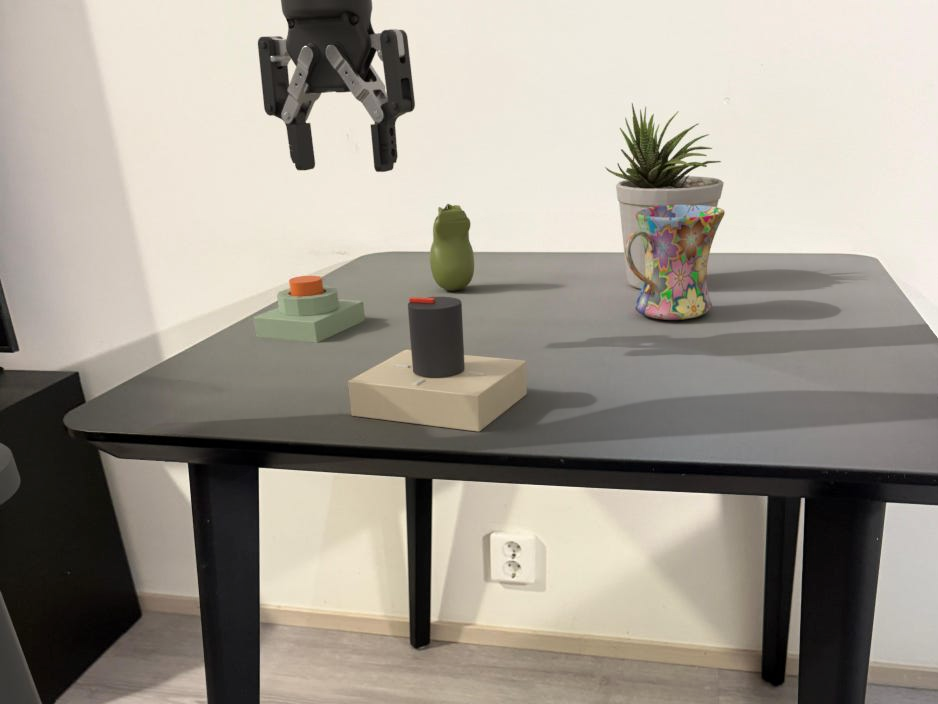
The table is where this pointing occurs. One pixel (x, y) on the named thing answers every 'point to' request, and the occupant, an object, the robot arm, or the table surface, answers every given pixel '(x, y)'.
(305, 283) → the button
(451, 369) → the dial
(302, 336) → the button block
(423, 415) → the panel
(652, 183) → the potted plant
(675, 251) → the mug
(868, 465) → the table surface
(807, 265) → the table surface
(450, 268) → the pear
